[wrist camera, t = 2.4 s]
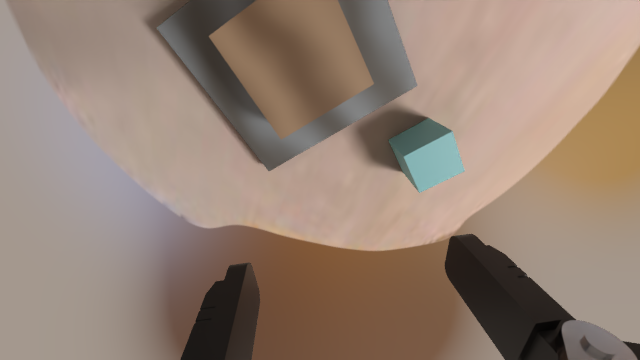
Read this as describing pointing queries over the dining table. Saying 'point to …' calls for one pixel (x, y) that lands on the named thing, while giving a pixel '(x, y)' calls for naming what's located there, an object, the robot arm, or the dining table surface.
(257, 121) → the stacking base
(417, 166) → the teal cube
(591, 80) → the dining table surface
